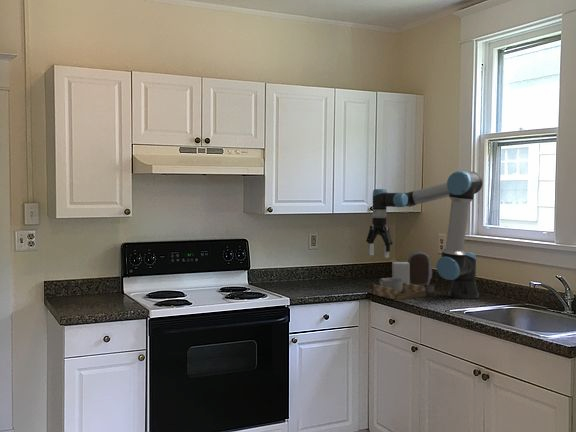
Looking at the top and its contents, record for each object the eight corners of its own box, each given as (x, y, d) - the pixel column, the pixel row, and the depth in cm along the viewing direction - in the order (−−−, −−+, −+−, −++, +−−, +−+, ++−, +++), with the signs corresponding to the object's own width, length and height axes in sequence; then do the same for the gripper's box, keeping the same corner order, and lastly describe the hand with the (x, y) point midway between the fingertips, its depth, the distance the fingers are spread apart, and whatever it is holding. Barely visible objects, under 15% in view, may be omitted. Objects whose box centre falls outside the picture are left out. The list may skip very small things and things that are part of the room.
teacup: (406, 294, 329) (407, 279, 329) (390, 296, 324) (390, 280, 323) (390, 290, 341) (390, 276, 341) (374, 292, 336) (374, 277, 335)
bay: (440, 296, 325) (440, 279, 325) (399, 300, 311) (399, 282, 311) (412, 290, 343) (413, 274, 343) (373, 294, 329) (373, 277, 329)
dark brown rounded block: (405, 286, 359) (406, 251, 358) (406, 283, 367) (406, 249, 366) (432, 287, 355) (433, 251, 355) (432, 284, 364) (432, 250, 363)
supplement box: (408, 288, 350) (408, 261, 350) (409, 290, 341) (410, 263, 341) (391, 288, 351) (392, 261, 351) (392, 290, 342) (393, 263, 342)
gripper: (360, 216, 349) (359, 254, 350) (388, 218, 327) (387, 259, 328) (371, 216, 352) (370, 254, 353) (399, 218, 331) (399, 258, 332)
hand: (378, 256), depth 341 cm, fingers open, 13 cm apart
